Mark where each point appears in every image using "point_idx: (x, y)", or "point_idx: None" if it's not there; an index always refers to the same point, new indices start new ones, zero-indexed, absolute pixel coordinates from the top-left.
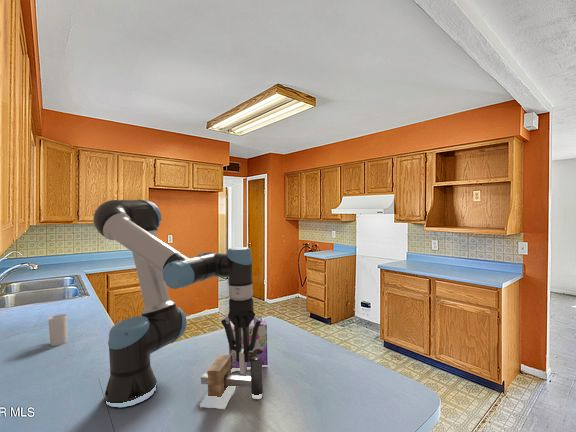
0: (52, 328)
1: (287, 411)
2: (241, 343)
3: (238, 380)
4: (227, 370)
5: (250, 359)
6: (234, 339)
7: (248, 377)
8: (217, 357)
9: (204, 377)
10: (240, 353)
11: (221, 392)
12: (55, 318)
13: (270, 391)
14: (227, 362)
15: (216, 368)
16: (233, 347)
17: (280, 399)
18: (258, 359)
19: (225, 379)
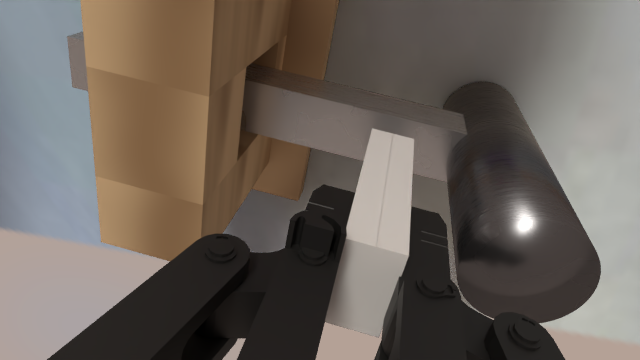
0: None
1: (631, 251)
2: (329, 299)
3: (350, 154)
4: (242, 84)
5: (457, 276)
6: (189, 324)
7: (427, 140)
8: (84, 29)
9: None
10: (340, 323)
11: (258, 169)
12: None
13: (580, 61)
14: (216, 101)
15: (158, 229)
16: (232, 345)
17: (626, 153)
18: (550, 293)
19: (253, 131)
